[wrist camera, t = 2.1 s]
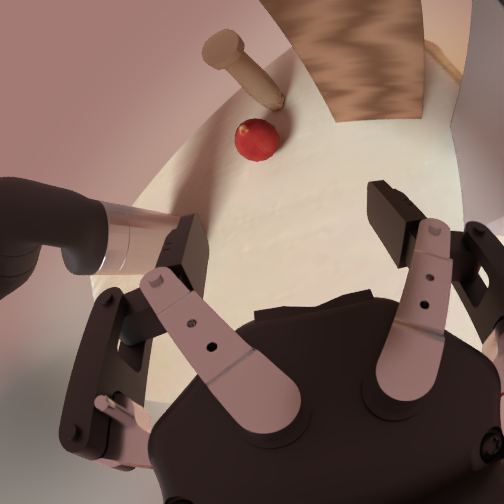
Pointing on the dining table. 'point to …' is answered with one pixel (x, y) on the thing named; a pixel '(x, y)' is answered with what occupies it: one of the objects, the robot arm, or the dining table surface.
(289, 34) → the shelf block
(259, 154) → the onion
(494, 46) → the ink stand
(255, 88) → the handle
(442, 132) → the dining table surface
